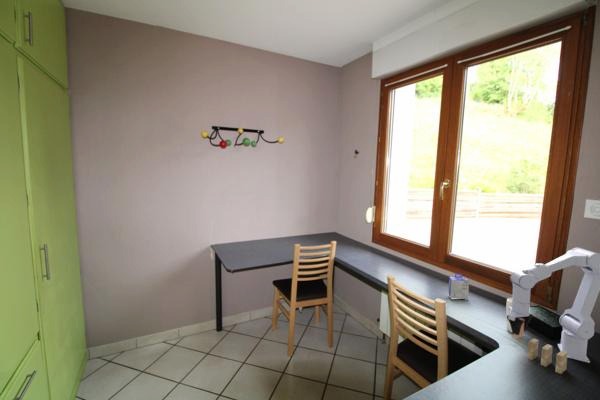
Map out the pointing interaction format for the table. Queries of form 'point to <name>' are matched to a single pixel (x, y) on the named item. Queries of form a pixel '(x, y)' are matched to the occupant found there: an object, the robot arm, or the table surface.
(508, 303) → the drinking glass
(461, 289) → the ink cartridge box
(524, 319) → the salmon orange block
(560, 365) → the domino
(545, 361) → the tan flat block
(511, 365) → the table surface
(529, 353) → the domino
